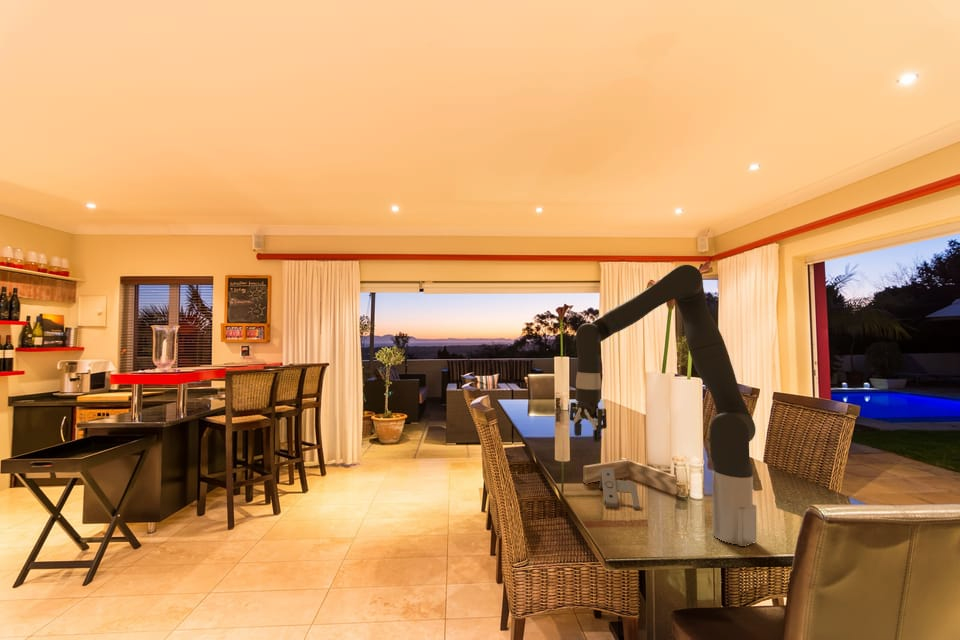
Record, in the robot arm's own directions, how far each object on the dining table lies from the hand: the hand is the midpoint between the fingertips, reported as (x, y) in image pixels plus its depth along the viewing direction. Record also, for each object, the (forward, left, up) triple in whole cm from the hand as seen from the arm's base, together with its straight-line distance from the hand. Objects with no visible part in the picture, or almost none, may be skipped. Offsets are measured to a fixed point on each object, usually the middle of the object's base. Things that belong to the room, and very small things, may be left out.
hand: (586, 438), depth 136 cm
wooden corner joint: (+6, -24, -20) cm, 32 cm away
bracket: (-1, -13, -21) cm, 25 cm away
